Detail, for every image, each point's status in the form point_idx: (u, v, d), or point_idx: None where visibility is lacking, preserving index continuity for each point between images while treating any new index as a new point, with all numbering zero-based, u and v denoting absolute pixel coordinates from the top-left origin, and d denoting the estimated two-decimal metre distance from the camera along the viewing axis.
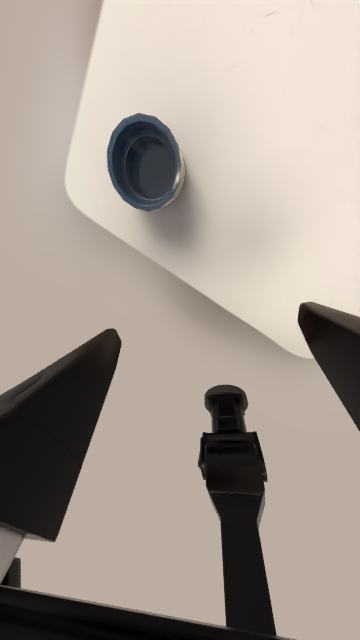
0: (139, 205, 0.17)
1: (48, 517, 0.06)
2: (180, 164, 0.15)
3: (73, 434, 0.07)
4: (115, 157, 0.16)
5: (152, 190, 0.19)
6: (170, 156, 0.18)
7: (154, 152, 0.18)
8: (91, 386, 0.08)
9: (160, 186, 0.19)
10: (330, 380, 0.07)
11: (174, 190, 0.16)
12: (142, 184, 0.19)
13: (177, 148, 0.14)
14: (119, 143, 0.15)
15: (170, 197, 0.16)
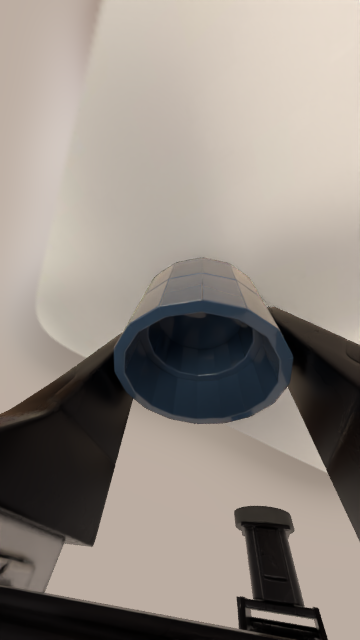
0: (179, 417, 0.08)
1: (87, 520, 0.06)
2: (287, 381, 0.06)
3: (106, 434, 0.07)
4: (131, 343, 0.07)
5: (192, 337, 0.11)
6: None
7: None
8: (121, 384, 0.08)
9: (207, 333, 0.10)
10: None
11: (260, 409, 0.07)
12: (175, 329, 0.11)
13: (290, 361, 0.06)
14: None
15: (248, 416, 0.08)
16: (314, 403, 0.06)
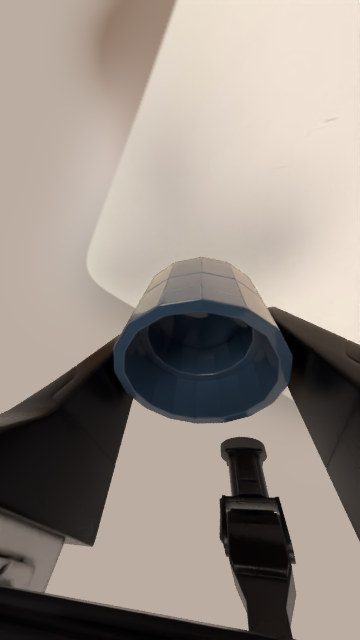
0: (178, 416, 0.08)
1: (87, 520, 0.06)
2: (287, 380, 0.06)
3: (106, 434, 0.07)
4: (131, 343, 0.07)
5: (192, 337, 0.11)
6: None
7: None
8: (121, 384, 0.08)
9: (207, 333, 0.10)
10: None
11: (260, 408, 0.07)
12: (175, 329, 0.11)
13: (289, 360, 0.06)
14: None
15: (248, 415, 0.08)
16: (314, 403, 0.06)
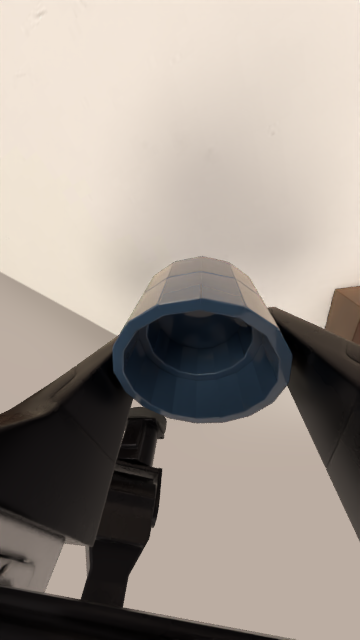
0: (178, 416, 0.08)
1: (87, 521, 0.06)
2: (287, 380, 0.06)
3: (106, 434, 0.07)
4: (130, 342, 0.07)
5: (192, 337, 0.11)
6: None
7: None
8: None
9: (207, 333, 0.10)
10: None
11: (259, 408, 0.07)
12: (174, 329, 0.11)
13: (289, 359, 0.06)
14: None
15: (248, 415, 0.08)
16: (314, 403, 0.06)
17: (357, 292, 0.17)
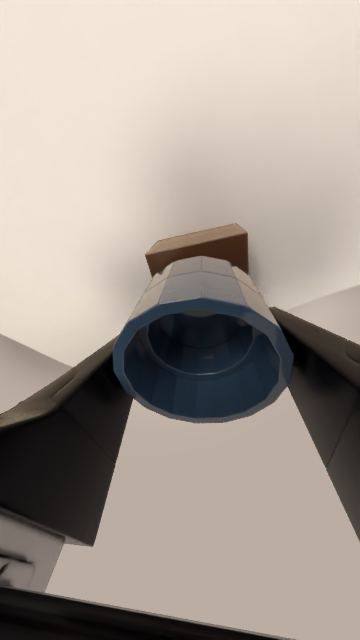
0: (178, 416, 0.08)
1: (87, 521, 0.06)
2: (288, 379, 0.06)
3: (106, 434, 0.07)
4: (130, 342, 0.07)
5: (192, 337, 0.11)
6: None
7: None
8: None
9: (207, 332, 0.10)
10: None
11: (260, 408, 0.07)
12: (174, 328, 0.10)
13: (290, 359, 0.06)
14: None
15: (248, 415, 0.07)
16: (314, 403, 0.06)
17: (170, 240, 0.13)
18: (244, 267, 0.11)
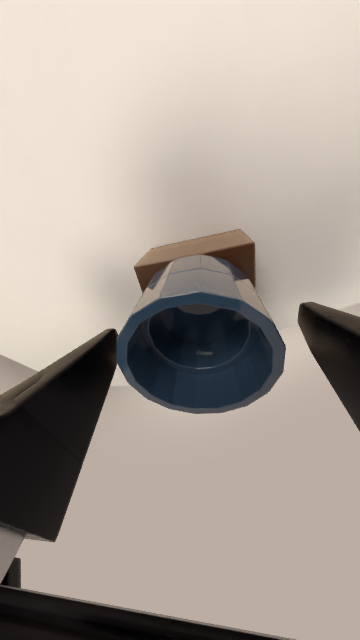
0: (178, 407, 0.08)
1: (48, 517, 0.06)
2: (281, 370, 0.07)
3: (73, 435, 0.07)
4: (133, 335, 0.07)
5: (191, 332, 0.11)
6: None
7: None
8: (91, 386, 0.08)
9: (206, 328, 0.11)
10: (330, 380, 0.07)
11: (255, 398, 0.08)
12: (175, 325, 0.11)
13: (282, 350, 0.06)
14: None
15: (244, 405, 0.08)
16: None
17: (164, 248, 0.12)
18: None
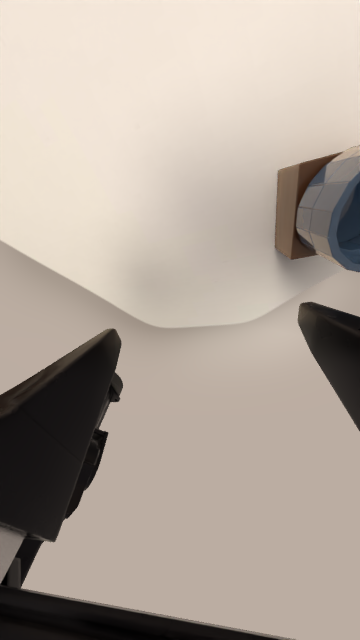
0: (356, 266, 0.10)
1: (48, 517, 0.06)
2: None
3: (73, 435, 0.07)
4: None
5: None
6: None
7: None
8: (91, 386, 0.08)
9: (347, 225, 0.13)
10: (330, 380, 0.07)
11: None
12: None
13: None
14: None
15: None
16: None
17: None
18: None
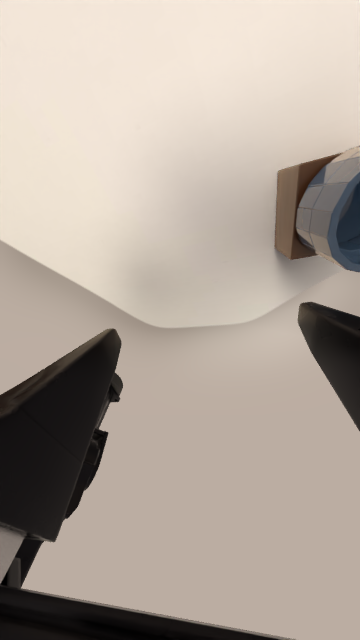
0: (356, 266, 0.10)
1: (48, 517, 0.06)
2: None
3: (73, 435, 0.07)
4: None
5: None
6: None
7: None
8: (91, 386, 0.08)
9: (347, 225, 0.13)
10: (330, 380, 0.07)
11: None
12: None
13: None
14: None
15: None
16: None
17: None
18: None
